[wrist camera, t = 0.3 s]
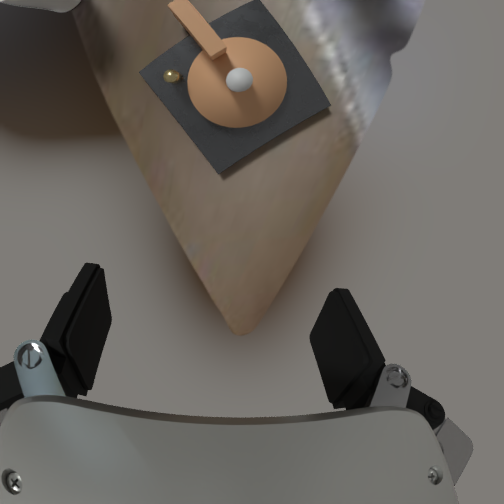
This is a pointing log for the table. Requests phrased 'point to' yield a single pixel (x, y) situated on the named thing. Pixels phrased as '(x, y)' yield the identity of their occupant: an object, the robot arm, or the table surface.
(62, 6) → the drinking glass
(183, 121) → the base plate
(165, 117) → the table surface
